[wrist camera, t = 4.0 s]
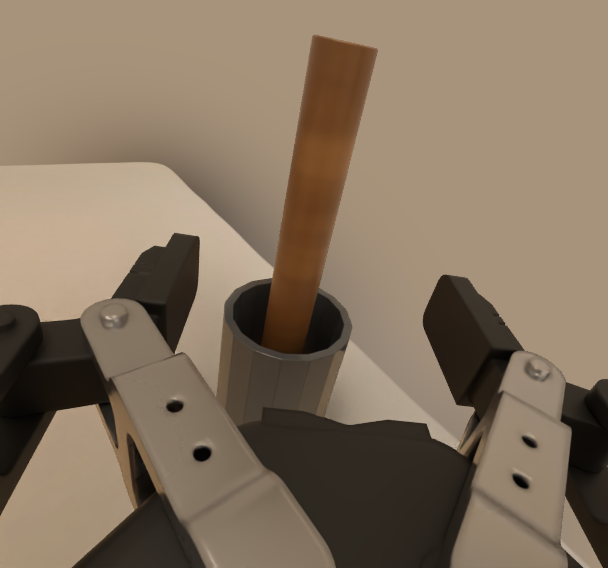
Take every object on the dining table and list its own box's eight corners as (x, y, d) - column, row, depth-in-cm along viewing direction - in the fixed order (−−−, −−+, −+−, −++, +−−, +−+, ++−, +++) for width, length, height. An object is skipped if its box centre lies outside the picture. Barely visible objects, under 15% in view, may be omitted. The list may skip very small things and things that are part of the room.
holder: (339, 437, 27) (376, 341, 22) (239, 480, 23) (256, 376, 18) (289, 363, 32) (310, 271, 27) (201, 388, 28) (206, 287, 23)
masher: (316, 423, 26) (432, 61, 14) (251, 448, 24) (327, 38, 12) (284, 373, 30) (357, 43, 18) (225, 391, 27) (263, 23, 15)
